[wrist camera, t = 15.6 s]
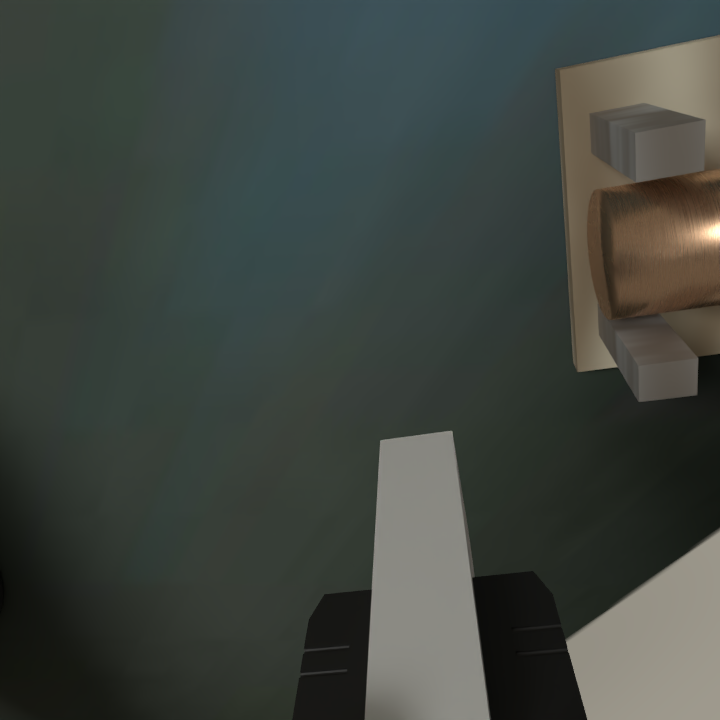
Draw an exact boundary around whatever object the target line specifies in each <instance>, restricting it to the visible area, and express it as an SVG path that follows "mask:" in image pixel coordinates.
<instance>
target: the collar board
mask: <svg viewBox="0 0 720 720" xmlns="http://www.w3.org/2000/svg"><path fill="white" fill-rule="evenodd" d="M555 75H556V92H557V108H558V124H559V140H560V156H561V172H562V188H563V205H564V221H565V237H566V253H567V269H568V285H569V301H570V318H571V334H572V350H573V363H574V365H575V367H576V369H577V371H578V372H582V371H590V370H598V369H606V368H613V367H618V368H619V370H620V371H621V373H622V375H623V376H624V378H625V380H626V381H627V383H628V385H629V386H630V388H631V390H632V391H633V393H634V395H635V396H636V398H637V400H638V401H639V402H644V401H652V400H660V399H669V398H677V397H685V396H694V395H697V384H698V356H706V355H714V354H720V305H718V306H710V307H703V308H696V309H688V310H681V311H674V312H666V313H659V314H652V315H644V316H637V317H630V318H622V319H615V320H608V319H607V318H606V317H605V316H604V314H603V313H602V311H601V309H600V306H599V303H598V300H597V297H596V294H595V290H594V286H593V281H592V276H591V270H590V263H589V255H588V242H587V216H588V206H589V201H590V197H591V195H592V193H593V191H594V190H596V189H601V188H607V187H613V186H619V185H625V184H631V183H637V182H643V181H649V180H655V179H661V178H667V177H672V176H678V175H684V174H690V173H696V172H702V171H708V170H714V169H720V35H717V36H713V37H708V38H703V39H698V40H693V41H689V42H684V43H679V44H674V45H669V46H664V47H660V48H655V49H650V50H645V51H640V52H635V53H631V54H626V55H621V56H616V57H611V58H606V59H602V60H597V61H592V62H587V63H582V64H577V65H573V66H568V67H563V68H558V69H555Z"/></svg>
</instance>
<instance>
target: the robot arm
mask: <svg viewBox="0 0 720 720" xmlns="http://www.w3.org/2000/svg"><path fill="white" fill-rule="evenodd" d="M2 604H3V586H2V581H1V577H0V612H1V609H2ZM304 650H305V653H304V654H303V659H302V665H301V671H300V672H301V678H299V683H298V689H297V695H296V701H295V707H294V714H293V720H587V717H586V713H585V710H584V706H583V702H582V699H581V695H580V692H579V688H578V685H577V681H576V677H575V674H574V670H573V666H572V663H571V659H570V655H569V653H568V650H567V644H566V641H565V637H564V633H563V630H562V628H561V623H560V619H559V615H558V612H557V608H556V604H555V601H554V597H553V594H552V593H551V592H550V591H549V589H548V588H547V587H546V586H545V585H544V583H543V582H542V581H541V580H540V579H539V578H538V576H537V575H536V574H535V573H534V572H533V571H530V572H520V573H511V574H501V575H491V576H481V577H474V569H473V562H472V555H471V547H470V540H469V533H468V527H467V520H466V514H465V508H464V502H463V495H462V489H461V483H460V477H459V471H458V464H457V458H456V452H455V446H454V439H453V433H452V431H446V432H439V433H432V434H424V435H417V436H409V437H402V438H395V439H387V440H380V456H379V473H378V491H377V509H376V527H375V545H374V562H373V580H372V590H363V591H353V592H343V593H334V594H324V596H323V598H322V599H321V601H320V603H319V604H318V606H317V607H316V609H315V611H314V612H313V614H312V616H311V617H310V619H309V622H308V628H307V634H306V640H305V646H304Z"/></svg>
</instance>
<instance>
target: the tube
mask: <svg viewBox="0 0 720 720" xmlns="http://www.w3.org/2000/svg"><path fill="white" fill-rule="evenodd" d="M587 242H588V255H589V263H590V270H591V276H592V281H593V286H594V290H595V294H596V297H597V300H598V303H599V306H600V309H601V311H602V313H603V314H604V316H605V317H606V318H607V319H608V320H615V319H622V318H630V317H637V316H644V315H652V314H659V313H666V312H674V311H681V310H688V309H696V308H703V307H710V306H718V305H720V169H714V170H708V171H702V172H696V173H690V174H684V175H678V176H672V177H667V178H661V179H655V180H649V181H643V182H637V183H631V184H625V185H619V186H613V187H607V188H601V189H596V190H594V191H593V193H592V195H591V197H590V201H589V206H588V216H587Z"/></svg>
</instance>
